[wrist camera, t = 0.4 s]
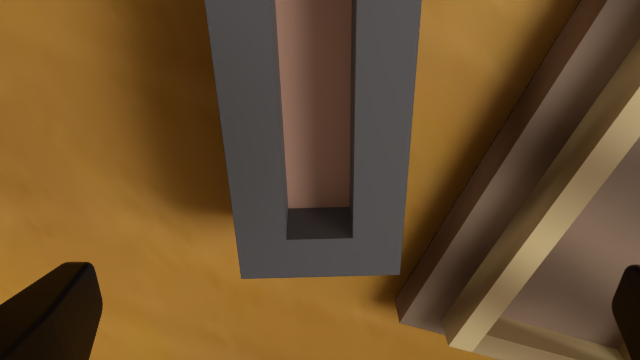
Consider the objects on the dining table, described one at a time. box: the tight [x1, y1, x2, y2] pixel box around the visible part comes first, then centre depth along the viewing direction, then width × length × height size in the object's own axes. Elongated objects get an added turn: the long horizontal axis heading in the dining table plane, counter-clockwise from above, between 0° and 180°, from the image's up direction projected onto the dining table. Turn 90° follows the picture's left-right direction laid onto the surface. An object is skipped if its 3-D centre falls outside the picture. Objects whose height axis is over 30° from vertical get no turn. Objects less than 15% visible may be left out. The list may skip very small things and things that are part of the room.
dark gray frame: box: [205, 0, 422, 279], centre depth 18 cm, size 14×6×4 cm, turn 1°
